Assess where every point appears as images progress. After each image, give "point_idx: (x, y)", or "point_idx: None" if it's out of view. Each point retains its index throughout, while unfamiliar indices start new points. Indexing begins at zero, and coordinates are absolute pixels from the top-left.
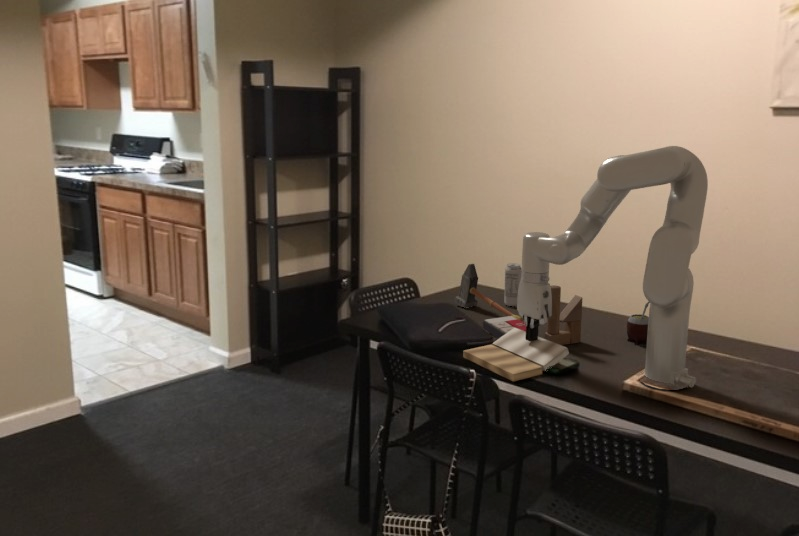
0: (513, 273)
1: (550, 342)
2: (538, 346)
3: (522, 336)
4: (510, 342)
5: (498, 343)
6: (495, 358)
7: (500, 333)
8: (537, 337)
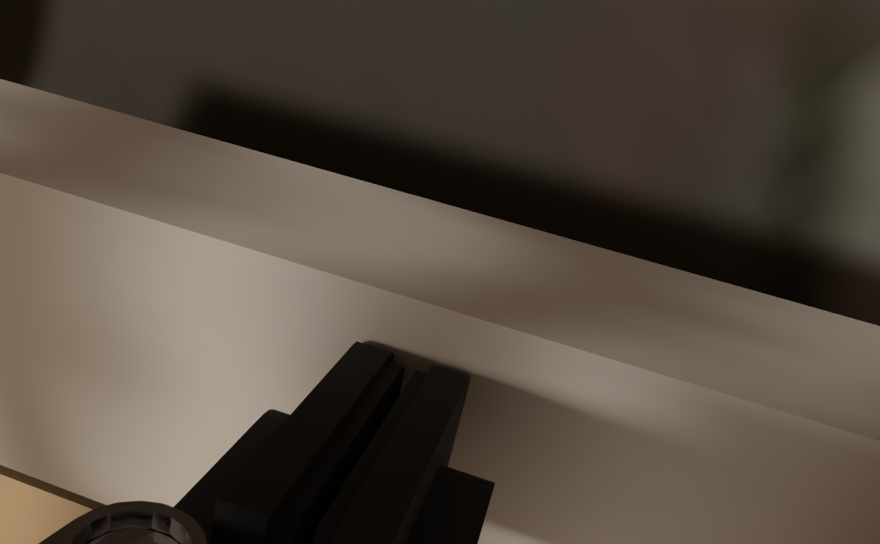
0: None
1: (858, 463)
2: (635, 535)
3: (136, 320)
4: (120, 440)
5: (13, 450)
6: None
7: None
8: (461, 398)
